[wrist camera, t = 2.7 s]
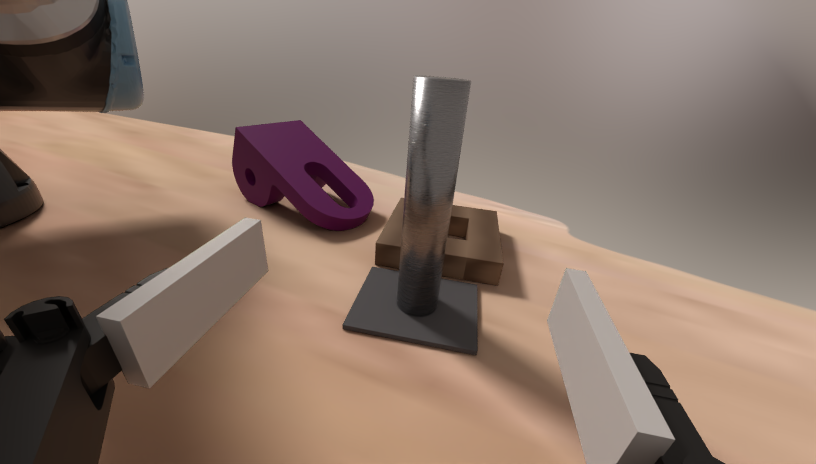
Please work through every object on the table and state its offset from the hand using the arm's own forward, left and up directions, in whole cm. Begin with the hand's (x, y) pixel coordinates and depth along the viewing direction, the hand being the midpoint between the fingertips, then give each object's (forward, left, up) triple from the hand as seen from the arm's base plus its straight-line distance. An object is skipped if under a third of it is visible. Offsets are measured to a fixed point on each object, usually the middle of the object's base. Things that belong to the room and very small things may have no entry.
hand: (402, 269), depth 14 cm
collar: (+1, +21, -10) cm, 23 cm away
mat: (0, +10, -10) cm, 14 cm away
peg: (0, +10, -10) cm, 14 cm away
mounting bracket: (-17, +26, -11) cm, 33 cm away
